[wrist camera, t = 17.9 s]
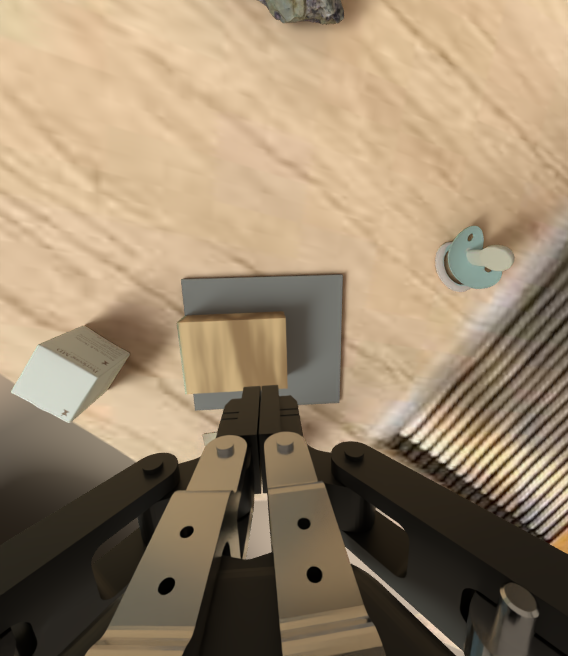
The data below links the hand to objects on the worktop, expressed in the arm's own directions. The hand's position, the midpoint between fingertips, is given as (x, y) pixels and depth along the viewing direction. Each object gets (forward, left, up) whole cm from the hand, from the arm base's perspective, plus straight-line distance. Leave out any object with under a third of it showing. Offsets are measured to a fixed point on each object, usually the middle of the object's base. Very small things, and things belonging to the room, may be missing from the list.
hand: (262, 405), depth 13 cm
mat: (0, +5, -23) cm, 23 cm away
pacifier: (-23, -4, -23) cm, 33 cm away
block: (-2, +4, -21) cm, 21 cm away
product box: (+20, +6, -23) cm, 31 cm away
